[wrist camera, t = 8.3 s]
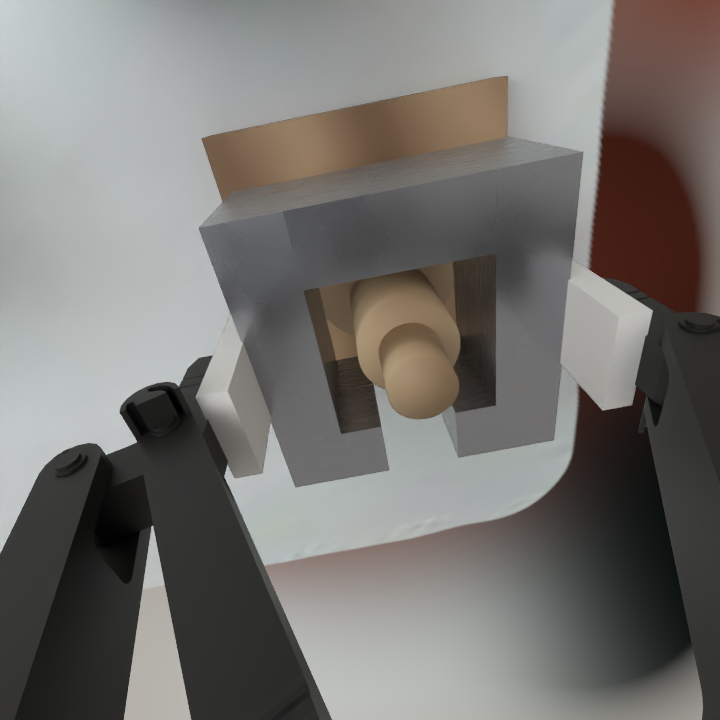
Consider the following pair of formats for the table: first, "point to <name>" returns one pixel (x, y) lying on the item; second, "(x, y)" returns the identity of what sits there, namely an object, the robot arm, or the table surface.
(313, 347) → the grey split frame
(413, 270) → the post fixture
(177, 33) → the table surface
